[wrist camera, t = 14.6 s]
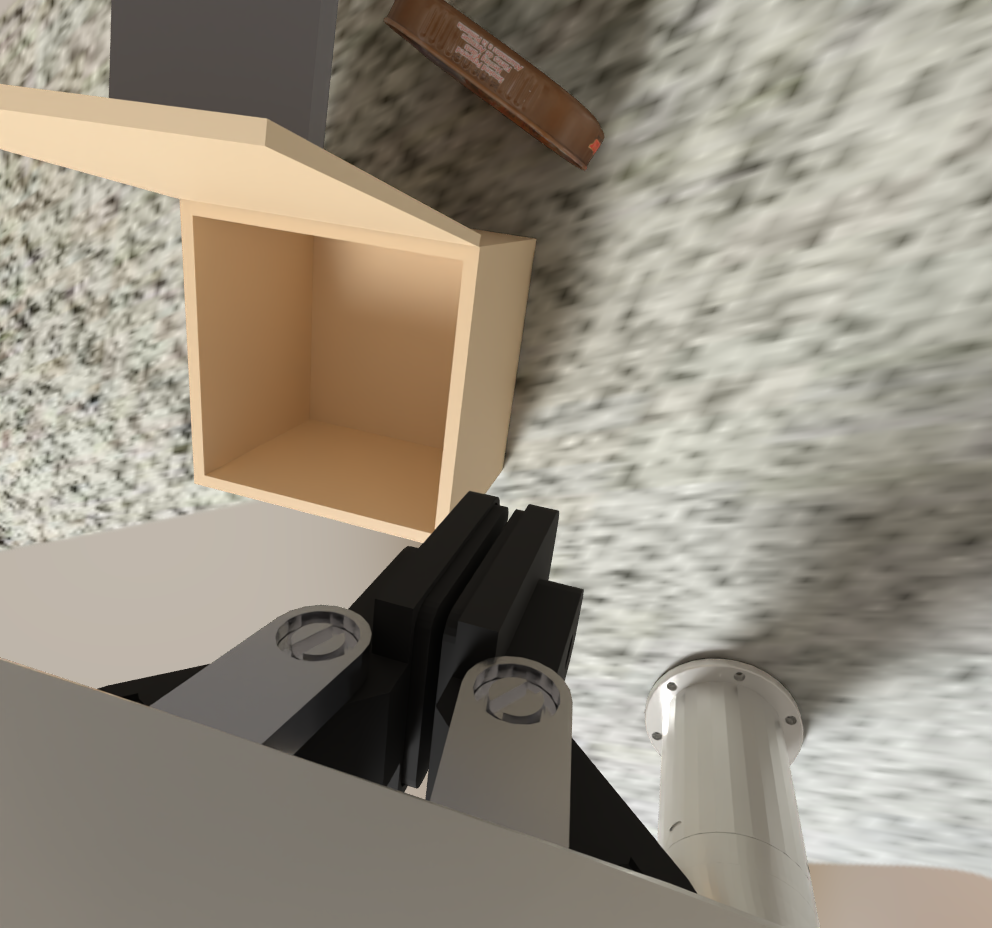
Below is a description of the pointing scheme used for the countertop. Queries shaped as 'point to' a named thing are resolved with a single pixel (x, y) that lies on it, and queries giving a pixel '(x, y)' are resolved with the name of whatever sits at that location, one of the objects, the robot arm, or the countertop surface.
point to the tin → (499, 77)
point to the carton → (350, 364)
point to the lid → (218, 116)
